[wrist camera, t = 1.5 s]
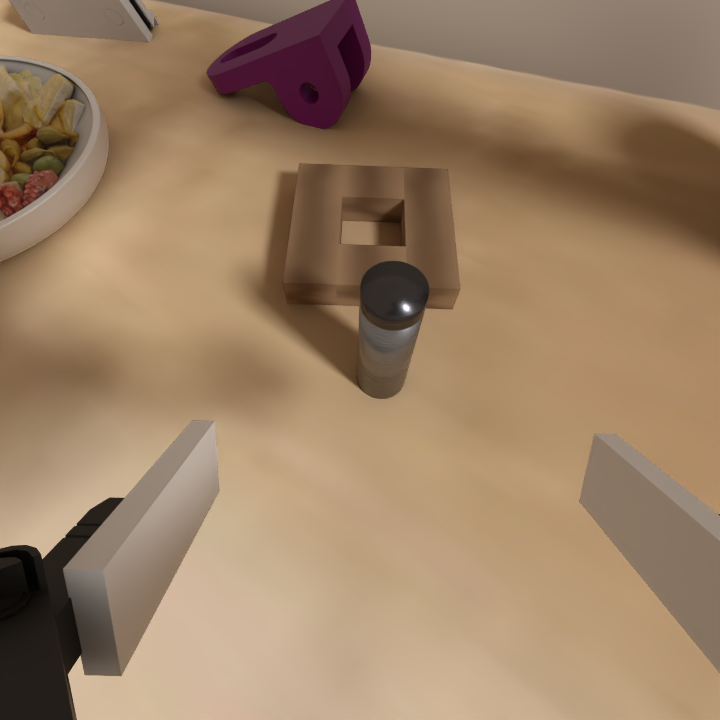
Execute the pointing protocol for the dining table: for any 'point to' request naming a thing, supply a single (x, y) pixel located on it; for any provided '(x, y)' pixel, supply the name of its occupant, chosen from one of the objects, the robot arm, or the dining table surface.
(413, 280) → the grey and black cylinder
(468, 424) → the dining table surface
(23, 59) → the bowl
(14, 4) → the napkin holder
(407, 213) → the socket block
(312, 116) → the mounting bracket
